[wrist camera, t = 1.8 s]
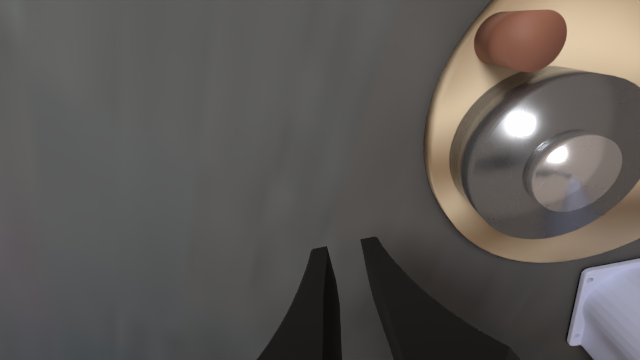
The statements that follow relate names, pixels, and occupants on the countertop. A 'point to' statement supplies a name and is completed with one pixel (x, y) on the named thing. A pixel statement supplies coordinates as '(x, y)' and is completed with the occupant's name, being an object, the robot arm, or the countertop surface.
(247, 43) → the countertop surface
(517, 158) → the cover
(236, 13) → the countertop surface
